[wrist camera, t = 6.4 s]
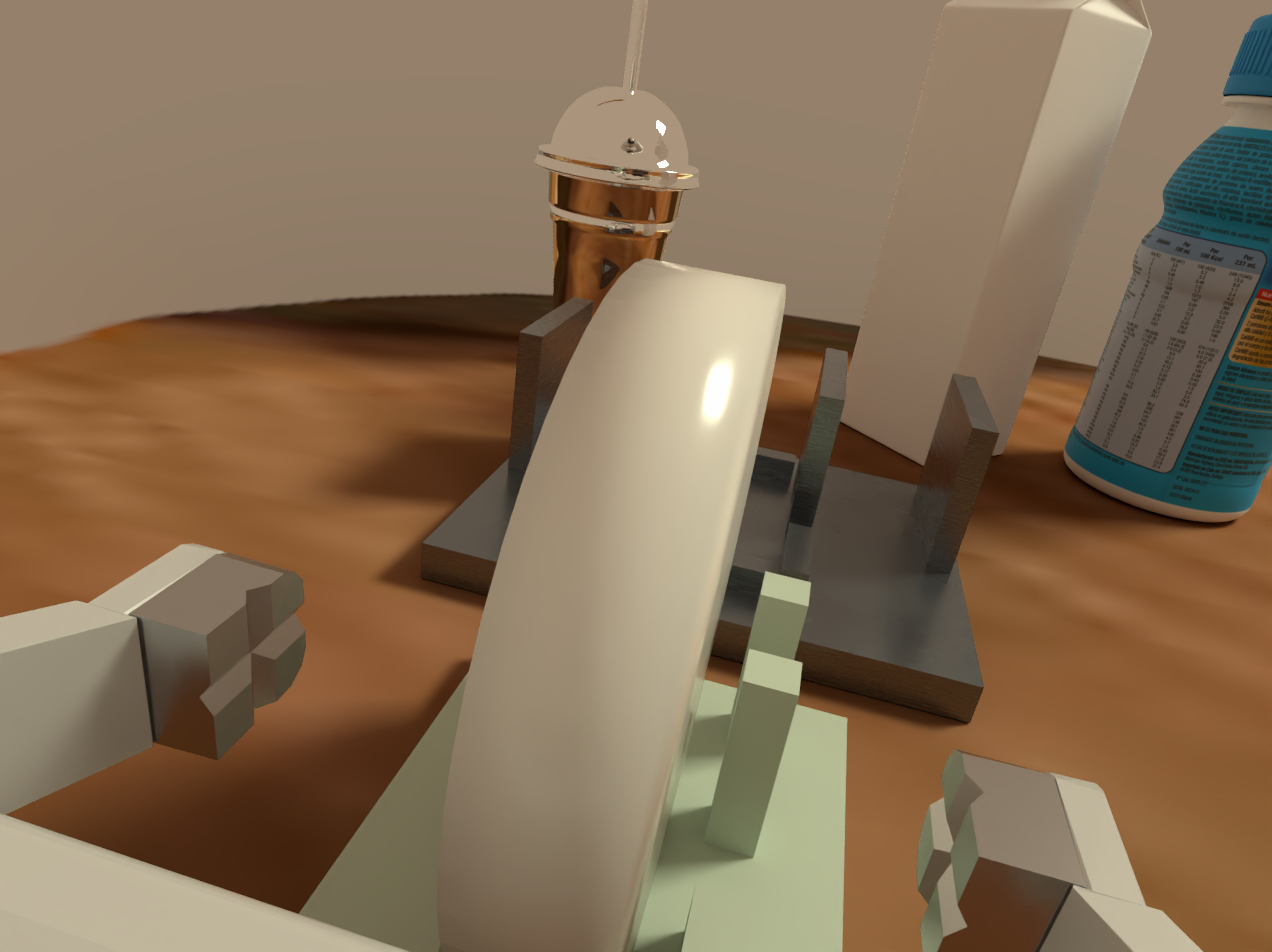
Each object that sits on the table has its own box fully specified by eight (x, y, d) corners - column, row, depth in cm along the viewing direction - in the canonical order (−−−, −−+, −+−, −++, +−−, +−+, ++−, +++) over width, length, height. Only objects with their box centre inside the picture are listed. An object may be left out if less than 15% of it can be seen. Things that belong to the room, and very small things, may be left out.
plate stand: (837, 749, 21) (890, 579, 19) (813, 1408, 10) (930, 1184, 8) (498, 655, 22) (513, 488, 20) (169, 1149, 12) (129, 903, 10)
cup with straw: (629, 395, 42) (698, -72, 34) (479, 350, 45) (507, -89, 37) (692, 358, 50) (761, -35, 41) (558, 322, 53) (597, -51, 44)
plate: (703, 692, 21) (804, 236, 16) (563, 1213, 11) (716, 428, 6) (625, 671, 21) (701, 217, 16) (420, 1159, 11) (466, 373, 7)
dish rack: (932, 516, 34) (980, 371, 32) (969, 722, 23) (1049, 521, 20) (559, 431, 37) (574, 290, 34) (420, 577, 25) (428, 381, 23)
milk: (911, 412, 47) (1050, -52, 38) (1005, 456, 42) (1188, -57, 33) (832, 420, 43) (964, -85, 34) (925, 470, 39) (1105, -96, 30)
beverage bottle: (1036, 476, 40) (1217, -2, 32) (1077, 437, 46) (1238, 29, 38) (1239, 549, 36) (1512, 17, 27) (1255, 495, 42) (1481, 49, 34)
